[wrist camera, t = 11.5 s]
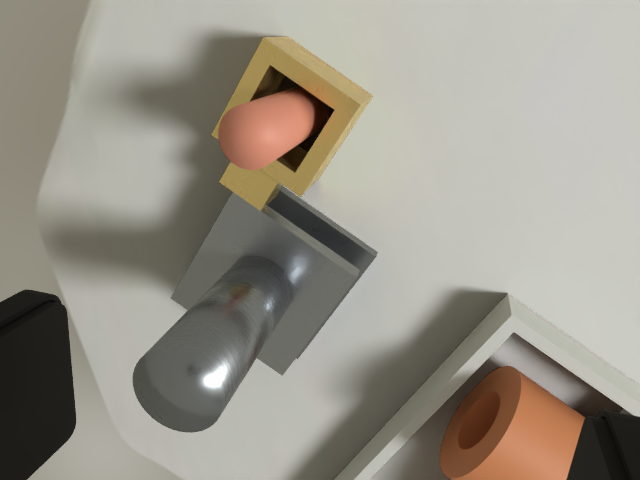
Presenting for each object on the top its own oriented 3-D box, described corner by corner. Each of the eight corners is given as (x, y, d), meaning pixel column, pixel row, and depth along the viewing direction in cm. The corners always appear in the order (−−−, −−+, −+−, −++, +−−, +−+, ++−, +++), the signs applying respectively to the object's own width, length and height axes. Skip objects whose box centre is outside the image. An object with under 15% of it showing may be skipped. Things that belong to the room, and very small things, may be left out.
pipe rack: (656, 396, 35) (672, 427, 33) (433, 579, 45) (431, 614, 42) (507, 293, 35) (511, 315, 33) (316, 498, 45) (306, 528, 42)
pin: (330, 88, 34) (282, 108, 24) (326, 137, 35) (278, 174, 25) (283, 82, 34) (218, 100, 25) (280, 131, 35) (217, 164, 26)
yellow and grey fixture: (454, 152, 33) (449, 236, 19) (300, 353, 41) (219, 515, 27) (287, 36, 33) (166, 38, 19) (164, 258, 40) (13, 373, 27)
